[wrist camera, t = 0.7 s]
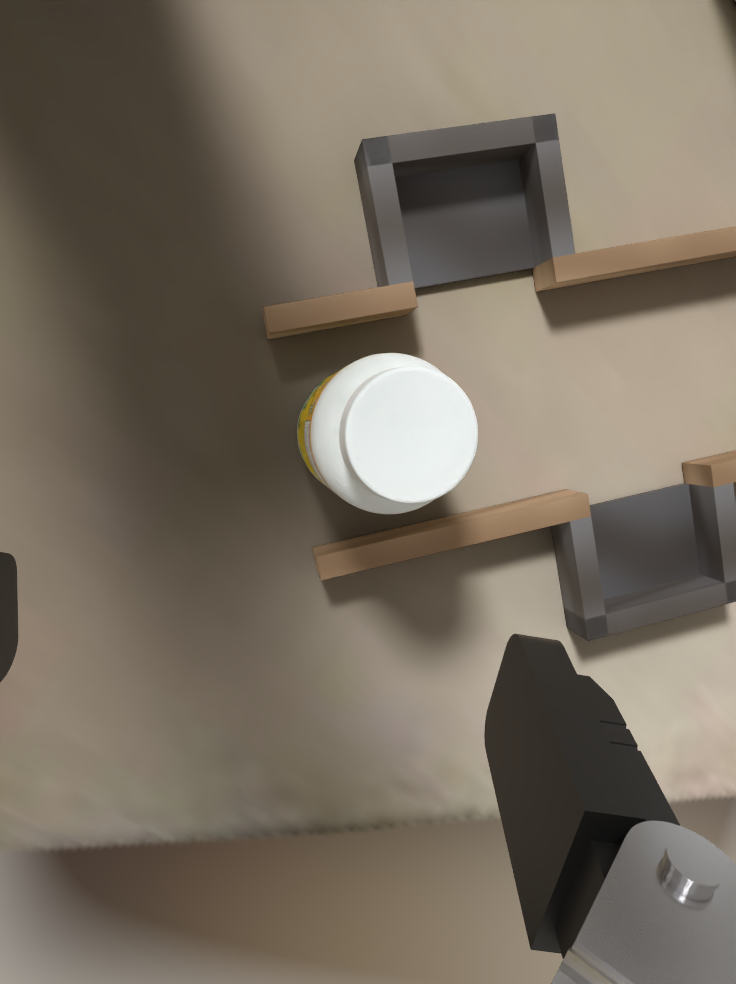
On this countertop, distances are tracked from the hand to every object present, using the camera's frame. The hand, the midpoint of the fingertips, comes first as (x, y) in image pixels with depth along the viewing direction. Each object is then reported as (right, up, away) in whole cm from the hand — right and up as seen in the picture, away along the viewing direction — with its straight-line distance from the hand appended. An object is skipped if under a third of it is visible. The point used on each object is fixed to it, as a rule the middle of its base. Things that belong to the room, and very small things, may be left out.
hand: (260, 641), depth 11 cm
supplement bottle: (+1, +5, +18) cm, 18 cm away
